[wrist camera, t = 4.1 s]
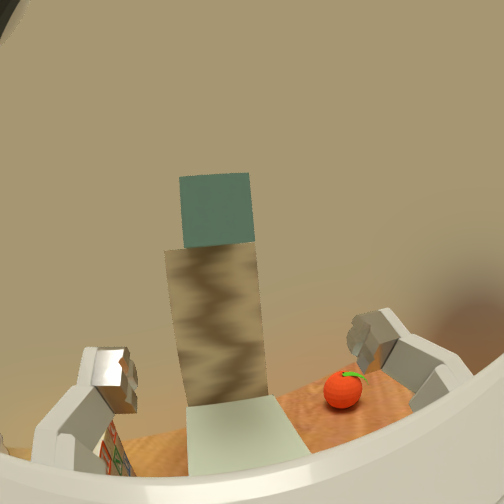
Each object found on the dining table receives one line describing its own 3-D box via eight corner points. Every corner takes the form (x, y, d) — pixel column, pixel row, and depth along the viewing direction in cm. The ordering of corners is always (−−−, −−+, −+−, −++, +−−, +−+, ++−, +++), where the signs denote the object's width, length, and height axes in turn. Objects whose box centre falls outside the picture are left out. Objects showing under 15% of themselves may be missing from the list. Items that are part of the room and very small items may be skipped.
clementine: (366, 395, 45) (369, 362, 45) (366, 415, 39) (369, 380, 39) (325, 395, 48) (325, 364, 48) (320, 415, 42) (320, 381, 41)
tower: (212, 495, 25) (164, 250, 24) (204, 443, 36) (173, 250, 36) (275, 484, 26) (254, 242, 25) (254, 435, 38) (234, 244, 37)
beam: (184, 247, 15) (179, 176, 15) (188, 249, 37) (186, 218, 37) (255, 241, 16) (248, 172, 16) (218, 246, 38) (216, 216, 38)
